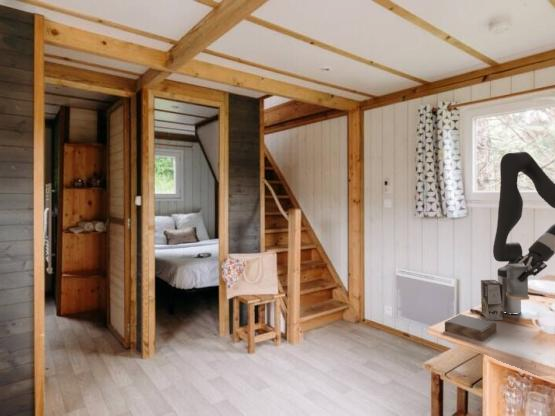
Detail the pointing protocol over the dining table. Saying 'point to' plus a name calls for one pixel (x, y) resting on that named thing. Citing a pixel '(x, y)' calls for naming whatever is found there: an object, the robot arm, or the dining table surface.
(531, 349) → the dining table surface
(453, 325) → the plate
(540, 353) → the dining table surface
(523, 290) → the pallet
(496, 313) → the coffee box
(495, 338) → the dining table surface
